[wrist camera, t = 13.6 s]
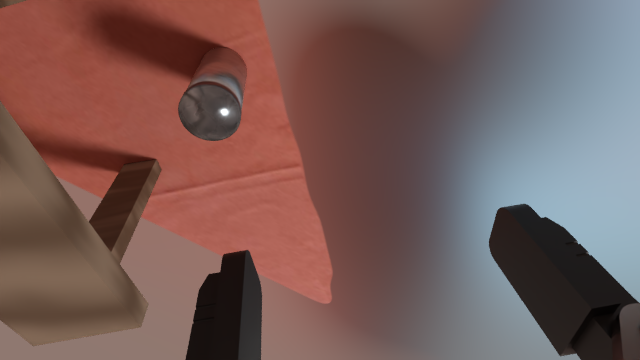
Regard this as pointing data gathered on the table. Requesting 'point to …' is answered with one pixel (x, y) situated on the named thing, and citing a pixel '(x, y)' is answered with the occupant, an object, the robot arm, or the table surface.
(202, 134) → the salt shaker
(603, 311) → the robot arm
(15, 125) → the walnut shelf
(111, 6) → the table surface
